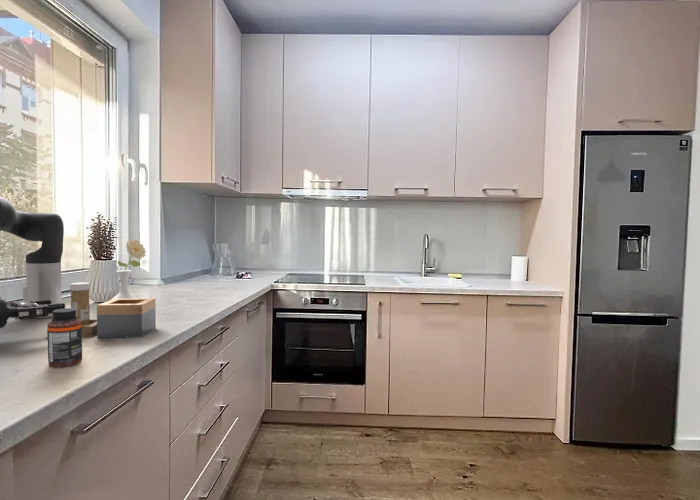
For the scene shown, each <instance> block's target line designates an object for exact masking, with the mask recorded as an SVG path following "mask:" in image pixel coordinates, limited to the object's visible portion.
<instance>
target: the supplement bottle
mask: <svg viewBox="0 0 700 500" xmlns="http://www.w3.org/2000/svg"><path fill="white" fill-rule="evenodd" d="M47 329H48V330H47ZM47 333H48V337H47V361H48V366H49V367H52V368H68V367H72V366H75V365H78V364H80V363H81V362H82V361H83V336H82V324H81V320H80V319H78V318H77V317H76V309H73V308H71V307H70V308H69V307H68V308H66V307H65V309H57V310H54V311H53V317H52V319H51V321H49V322H48V323H47V327H46V334H47Z"/></svg>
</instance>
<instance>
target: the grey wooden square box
mask: <svg viewBox="0 0 700 500" xmlns="http://www.w3.org/2000/svg"><path fill="white" fill-rule="evenodd" d="M156 316H157V314H156V298H155V297H153V298H137V299H113V300H111V299H110V300H108V301H105V302H102V303H99V304H96V319H97V334H96V335H97V336H96V338H97V339H103V338H104V339H105V338H106V339H109V338H110V339H112V338H115V339H116V338H143V337H144V336H146V335H147V334H149V333H150V332H152V331H153V330H156V328H157V327H156V326H157V325H156V323H157V322H156V321H157V320H156Z"/></svg>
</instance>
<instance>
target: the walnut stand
mask: <svg viewBox="0 0 700 500" xmlns="http://www.w3.org/2000/svg"><path fill="white" fill-rule="evenodd" d="M89 320H90V325H82V337H94V336H96V335H97V318H90V319H89ZM47 330H48V329H47V328H46V331H47ZM46 334H47V336H46V337H47V338H48V333H47V332H46Z"/></svg>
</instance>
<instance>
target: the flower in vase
mask: <svg viewBox="0 0 700 500" xmlns="http://www.w3.org/2000/svg"><path fill="white" fill-rule="evenodd" d="M125 245H126V251H127V252H128V254H129V255H130V257H129V261H128V263H125V262H122V261H119V260H118V261H117V264H118V266H120V267H123V268H124V269H121V270H120V269H119V270H115V272H116V273H117V275H118V278H119V282H120V283H119V284H120V287H119V288H120V290H119V292H118V293H117V294H116V295H115V296H113V297H112V298H111V299H110V300H113V299H138V298H137V296H135V295H133V294H132V293H130V291H129V288H128V286H129V285H128V282H129V281H128V280H129V277H130V274H131V272H133V270H130V269H127V268H128V267H129V264H130V265H131V266H132V267H134V268H137V267H139V266H141V262H139V261H138V260H136V259H139V260H142V259H143V258H145V256H147V255H146V252H147V251H146V248H145V247H144V245H143V244H141V243H140V241H138V239H133V238H131V239H129V240H128V241H126V244H125ZM132 258H135V259H132ZM131 259H132V260H131Z"/></svg>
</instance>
